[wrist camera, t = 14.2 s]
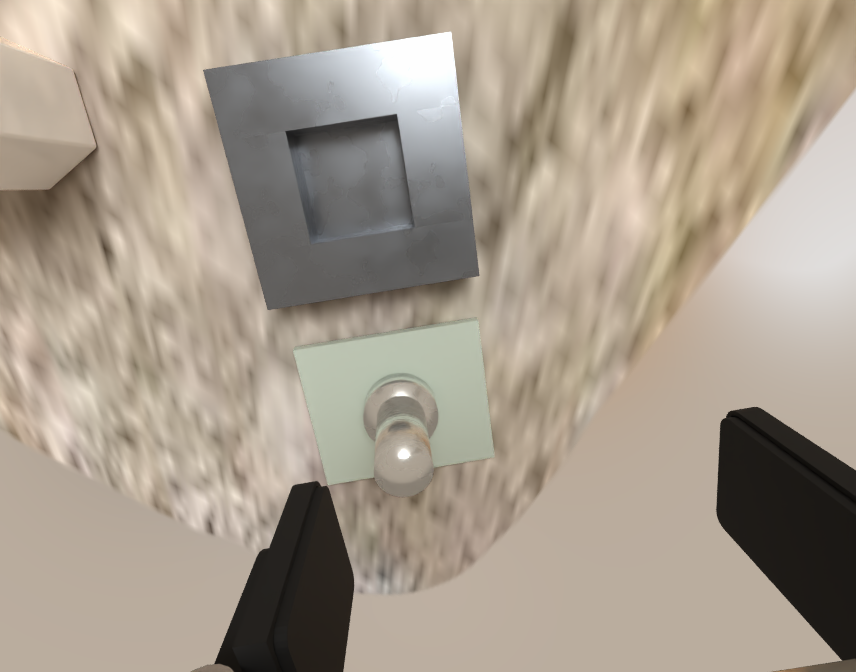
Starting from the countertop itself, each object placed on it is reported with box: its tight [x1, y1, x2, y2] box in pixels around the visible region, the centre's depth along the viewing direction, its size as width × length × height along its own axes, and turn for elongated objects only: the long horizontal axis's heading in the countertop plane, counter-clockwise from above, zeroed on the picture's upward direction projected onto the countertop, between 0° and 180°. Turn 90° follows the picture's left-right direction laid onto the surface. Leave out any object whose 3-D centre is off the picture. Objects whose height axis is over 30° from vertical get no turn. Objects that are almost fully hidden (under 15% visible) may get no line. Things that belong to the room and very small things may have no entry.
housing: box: [203, 32, 479, 310], centre depth 30 cm, size 14×14×4 cm
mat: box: [293, 318, 495, 485], centre depth 37 cm, size 14×12×1 cm
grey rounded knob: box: [363, 373, 438, 497], centre depth 32 cm, size 6×6×9 cm
